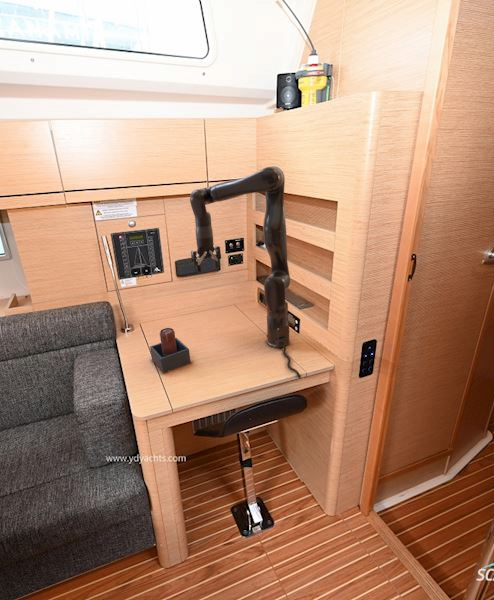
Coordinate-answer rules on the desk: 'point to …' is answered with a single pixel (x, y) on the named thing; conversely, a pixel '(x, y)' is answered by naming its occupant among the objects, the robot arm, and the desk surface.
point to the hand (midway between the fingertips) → (207, 270)
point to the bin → (170, 357)
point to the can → (168, 341)
